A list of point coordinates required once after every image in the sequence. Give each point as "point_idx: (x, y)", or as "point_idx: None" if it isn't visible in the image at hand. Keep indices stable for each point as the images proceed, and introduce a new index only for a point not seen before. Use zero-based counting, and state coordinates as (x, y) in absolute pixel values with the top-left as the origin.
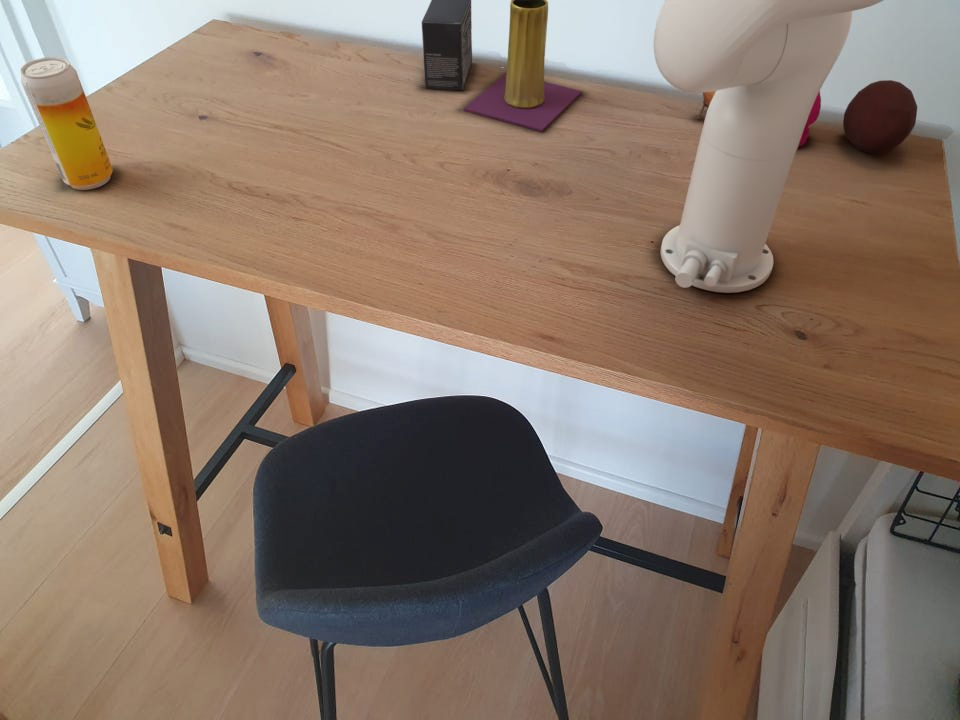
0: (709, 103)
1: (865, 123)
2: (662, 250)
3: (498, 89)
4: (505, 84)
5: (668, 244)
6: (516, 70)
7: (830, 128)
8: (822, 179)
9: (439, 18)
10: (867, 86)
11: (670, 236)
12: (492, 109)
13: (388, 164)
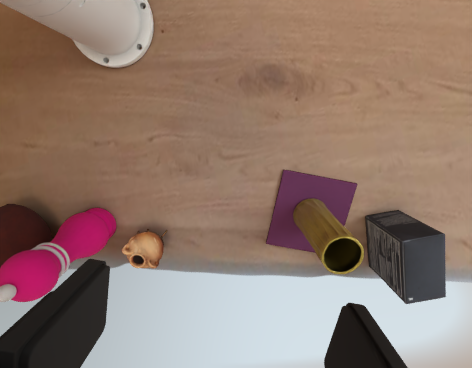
0: (155, 234)
1: (20, 216)
2: (148, 5)
3: None
4: None
5: (145, 16)
6: (326, 211)
7: None
8: (60, 170)
9: (428, 245)
10: None
11: (146, 28)
12: (332, 189)
13: (398, 73)
